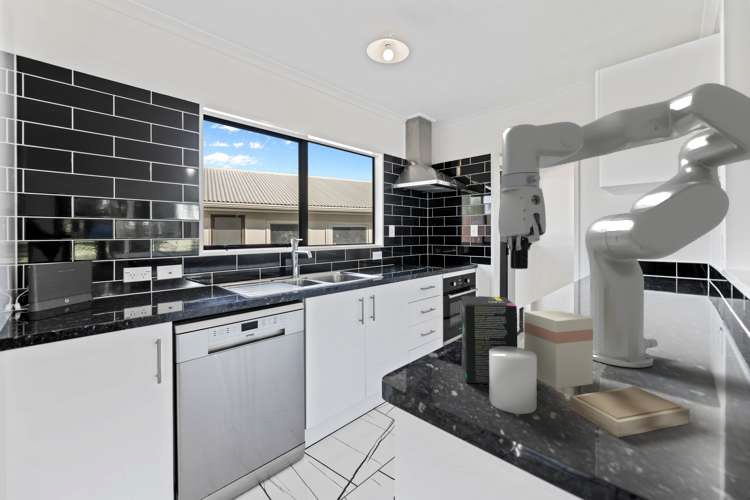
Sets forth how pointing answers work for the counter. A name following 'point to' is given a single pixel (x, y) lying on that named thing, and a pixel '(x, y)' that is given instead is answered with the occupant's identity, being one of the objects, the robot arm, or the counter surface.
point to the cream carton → (560, 347)
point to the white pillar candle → (513, 379)
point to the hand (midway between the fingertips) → (519, 268)
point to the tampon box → (485, 333)
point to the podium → (629, 411)
